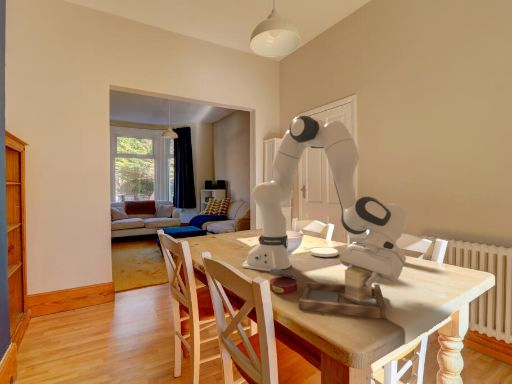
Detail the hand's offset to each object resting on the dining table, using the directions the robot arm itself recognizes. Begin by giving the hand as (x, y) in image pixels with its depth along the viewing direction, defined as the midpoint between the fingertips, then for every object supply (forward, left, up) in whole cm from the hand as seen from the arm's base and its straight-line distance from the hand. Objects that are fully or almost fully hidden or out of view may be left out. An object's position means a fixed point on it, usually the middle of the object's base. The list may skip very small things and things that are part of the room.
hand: (356, 282), depth 86 cm
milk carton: (+1, +33, -7) cm, 34 cm away
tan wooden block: (0, 0, -4) cm, 4 cm away
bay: (-5, 0, -7) cm, 8 cm away
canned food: (-25, +6, -7) cm, 27 cm away
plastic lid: (-15, +58, -7) cm, 61 cm away
